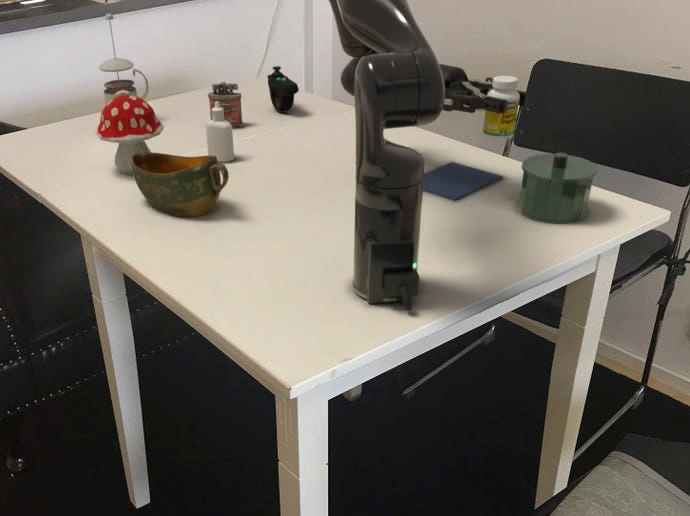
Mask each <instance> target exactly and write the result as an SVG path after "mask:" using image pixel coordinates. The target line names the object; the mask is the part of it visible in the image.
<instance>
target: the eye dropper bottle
mask: <svg viewBox="0 0 690 516" xmlns="http://www.w3.org/2000/svg"><path fill="white" fill-rule="evenodd" d="M212 119H213V120H211V119H210V120H209V121H207V122H206V124H205V131H206V132H205V133H206V143H207V156H209V155H215V156H216V158H217V161H218V163H229V162H232V161H233V160H235V149H234V148H235V147H234V137H233V134H234V133H233V128H232V126H231V124H230V123H229V122H228V121H226V120H224V110H223V108H221V107H220V105H219V102H215V107H214V108H213V109H212Z"/></svg>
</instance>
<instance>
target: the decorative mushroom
mask: <svg viewBox="0 0 690 516" xmlns="http://www.w3.org/2000/svg"><path fill="white" fill-rule="evenodd" d="M143 99H144V98H142V99H141V97H140V96H138V95H137V96H133V95H121V96H118V97H116V98H114V99H112V100H111V101H110V102H109V103H108V104H107V105H106V104H105V106H104V108H103V109H102V111H101V113H100V120H99V124H98V126H97V128H96V130H95V132H94V133H95V135H96V136H97V137H98V138H99V139H100V140H101V141H102V142H103V141H104V142H108V143H112V144H118V145H117V150H116V152H115V155H114V165H115V166H116V167H117V168H118V170H119V171H120V173H123V174H126V175H133V171H132V164H131V158H132V156H133V155H134V154H136V153H143V152H152V151H151V150H150V148H149V147H148V145H147V143H146V141H147V140H151V139H153V138H155V137H157V136H160V135H161V133H162V132H163V130H164V127H165V125H164V124H163V123H162V122H161V120H159V119H158V117H157V115H156V113H155V110H154V108H153V107H152V106H151V105H150V104H149V103H148V102H147V101H146V100H145V99H144V100H143Z"/></svg>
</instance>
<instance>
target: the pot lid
mask: <svg viewBox="0 0 690 516" xmlns="http://www.w3.org/2000/svg"><path fill="white" fill-rule="evenodd" d="M521 170H522V171H523V173H524V172H525V173H527V174H528V175H530V176H533V177H535V178H538V179H542V180H547V181H554V182H578V181H584V180H587V179H590V178H592V177H593V178H594V177H595V176H596V175H597V174H598V170H599V169H598V165H596V164H595V163H594V162H592V161H591V160H588V159H586V158H582V157H579V156H575V155H569V154H568V153H566V152H555V153H546V154H545V153H544V154H538V155H533V156H530V157H527V158H526V159H524V160H523V161H522V163H521Z"/></svg>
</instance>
